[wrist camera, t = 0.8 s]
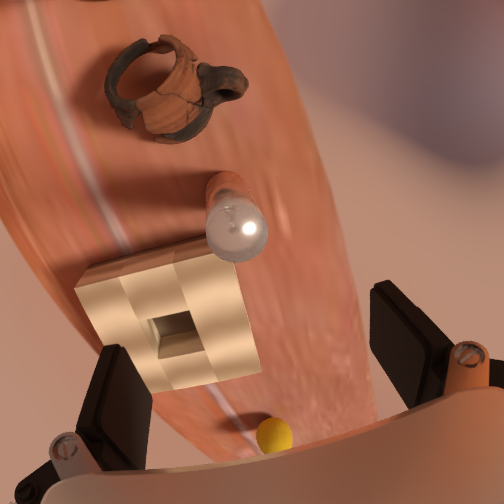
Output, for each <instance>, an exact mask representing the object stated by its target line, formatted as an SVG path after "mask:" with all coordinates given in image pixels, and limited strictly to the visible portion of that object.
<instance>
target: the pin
mask: <svg viewBox="0 0 504 504" xmlns="http://www.w3.org/2000/svg"><path fill="white" fill-rule="evenodd" d="M206 239H207V243H208V246H209V248H210V249H211V251H212V252H213V253H214V254H215V255H216V256H217V257H219V258H220V259H222V260H224V261H228V262H234V263H238V262H245V261H248V260H250V259H252V258H254V257H255V256H257V255H258V254H259V253H260V252H261V251H262V249H263V248H264V246H265V244H266V242H267V239H268V226H267V223H266V221H265V219H264V217H263V215H262V213H261V211H260V209H259V208H258V206H257V204H256V202H255V200H254V199H253V197H252V195H251V193H250V191H249V190H248V188H247V186H246V184H245V182H244V181H243V179H242V178H241V177H240V176H239V175H238V174H236V173H234V172H230V171H223V172H219V173H217V174H215V175H214V176H212V177H211V178H210V180H209V181H208V183H207V186H206Z"/></svg>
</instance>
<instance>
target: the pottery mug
mask: <svg viewBox="0 0 504 504" xmlns="http://www.w3.org/2000/svg"><path fill="white" fill-rule="evenodd" d="M153 50H155V51H157V52H160V53H163V54H165V53H168V52H171V51H173V50H174V51H175V53H176V58H177V59H176V62H175V66H174V68H173V70H172V72H171V73H170V75H169V76H168V77H167V79H166V80H165V81H164V82H163V83H162V84H161V85H160V86H159V87H158V88H157V89H156V90H154V91H152V92H151V93H149V94H147V95H145V96H143V97H140V98H137V99H136V100H126V99H122V98H120V97H119V96H118V95H117V92H116V86H117V83H118V80H119V77H120V75H122V74H123V72H124V71H125V70H126V68H127V67H128V66H129V65H130V64H131V63H132V62H133V61H134V60H135V59H136V58H138V57H139V56H141V55H143V54H146V53H148V52H150V51H153ZM197 60H198V58H197V56H196V55H195V54H194V52H193V51H192V50H191V49H190V48H189V47H187V46H186V45H184V44H182V42H181V41H180V40H179V39H177V38H175V37H173V36H171V35H164V34H163V35H160V37H159V38H158V41H156V42H153V43H150V44H149V43H148V42H147V40H146V39H143V38H142V39H140V40H138V41H136V42H134V43H133V44H131V45H130V46H128V47H127V48H126V49H125V50H123V51H122V52H121V53H120V54H119V55H118V57H117V58H116V59H115V61H114V63H113V64H112V65H111V67H110V68H109V70H108V73H107V76H106V78H105V84H104V89H105V94H106V96H107V98H108V100H109V102H110V105H111V108H114V109H115V112H116V115H117V117H118V118H119V119H120V121H121V124H122V125H123V126H124V127H126V128H128V129H133V128H134V125H133V122H134V120H135V118H136V117H137V116H138V115H139V114H140V113H142V118H143V120H144V125H145V129H146V131H148V132H150V133H152V134H162V135H163V136H165V137H155V138H154V141H155V142H157V143H163V144H178V143H182V142H186V141H188V140H190V139H192V138H193V137H195V136H196V135H198V134H199V133H200V132H201V131H202V130H203V129H204V128H205V127H206V125H207V124H208V122H209V120H210V118H211V115H212V111H213V109H214V107H216V106H217V105H219V104H221V103H223V102H226V101H232V100H236V99H239V98H241V97H242V96H243V95H244V93H245V91H246V90H247V88H248V86H249V82H248V80H247V78H246V77H245V76H244V74H243V73H242V72H241V71H240V70H238V69H236V68H233V67H228V66H218V67H214V66H210V65H209V64H207V63H204V62H203V63H200V64H199V65H198V66H197V69H196V67H195V65H194V64H193V62H194V61H197ZM201 97H202V105H198V104H195V103H196V102H197V101H199V100H200V99H201Z"/></svg>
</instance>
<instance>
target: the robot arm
mask: <svg viewBox="0 0 504 504" xmlns="http://www.w3.org/2000/svg"><path fill="white" fill-rule="evenodd" d="M369 343H370V348H371V351H372V352H373V354H374V355H375V357H376V359H377V360H378V362H379V363H380V365H381V366H382V368H383V369H384V371H385V372H386V374H387V376H388V377H389V379H390V380H391V382H392V383H393V385H394V387H395V388H396V390H397V391H398V393H399V395H400V396H401V398H402V400H403V401H404V403H405V404H406V406H407V408H408V409H409V410H407V411H404V412H402V413H400V414H397V415H394V416H392V417H389V418H386V419H384V420H381V421H378V422H376V423H373V424H370V425H368V426H365V427H362V428H359V429H356V430H353V431H350V432H347V433H344V434H341V435H338V436H334V437H331V438H328V439H324V440H321V441H317V442H314V443H310V444H307V445H303V446H299V447H295V448H291V449H287V450H283V451H278V452H274V453H269V454H264V455H260V456H254V457H249V458H244V459H238V460H232V461H226V462H219V463H212V464H204V465H196V466H187V467H176V468H164V469H148V470H145V464H146V453H147V444H148V434H149V427H150V418H151V410H152V402H153V401H152V396H151V393H150V391H149V390H148V388H147V386H146V385H145V383H144V381H143V379H142V378H141V376H140V374H139V372H138V371H137V369H136V367H135V365H134V363H133V361H132V360H131V358H130V356H129V354H128V352H127V350H126V349H125V347H123V346H122V347H121V346H120V345H119V344H111V345H105V346H104V347H103V349H102V352H101V354H100V357H99V360H98V363H97V365H96V368H95V371H94V374H93V376H92V379H91V382H90V385H89V388H88V391H87V393H86V397H85V399H84V403H83V406H82V409H81V412H80V415H79V418H78V422H77V425H76V431H75V433H74V432H65V433H62V434H60V435H58V436H57V437H56V438H55V439H54V440H53V441H52V443H51V445H50V447H49V455H50V458H51V460H49V461H48V462H46V463H45V464H44V465H42V466H41V467H40V468H38V469H37V470H35V471H34V472H33V473H31V474H30V475H29V476H27V477H26V478H25V479H23V480H22V481H21V482H20V483H18V485H17V487H16V489H15V500H16V502H15V503H13V502H10V504H504V361H502V360H495V359H489V353H488V351H487V349H486V348H485V347H484V346H482V345H481V344H479V343H477V342H474V341H463V342H459V343H458V344H456V345H454V344H453V343H452V342H451V340H449V338H448V337H447V336H446V335H445V334H444V333H443V332H442V331H441V330H440V329H439V328H438V327H437V326H436V325H435V324H434V323H433V321H432V320H431V319H430V318H429V317H428V316H427V315H426V314H425V313H424V312H423V311H422V310H421V309H420V308H418V307H417V306H415V305H414V304H413V303H412V302H411V301H410V300H409V299H408V298H407V297H406V296H405V295H404V294H403V293H402V292H401V291H400V290H399V289H398V288H397V287H396V286H395V285H394V284H393V283H392V282H391V281H390V280H385V281H382V282H379V283H376V284H374V288H372V289H371V290H370V342H369Z"/></svg>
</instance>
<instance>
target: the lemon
mask: <svg viewBox="0 0 504 504" xmlns="http://www.w3.org/2000/svg"><path fill="white" fill-rule="evenodd" d="M256 439H257V443H258V445H259V447H260V449H261V451H262V452H263V453H264V454H269V453H274V452H278V451H283V450H287V449H291V446H292V432H291V429H290V427H289V426H288V424H287V423H286V422H285V421H283V420H282V419H279V418H272V417H269V418H268V419H266V420H264V421H263V422H261V424H260V425H259V426H258V428H257V432H256Z"/></svg>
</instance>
